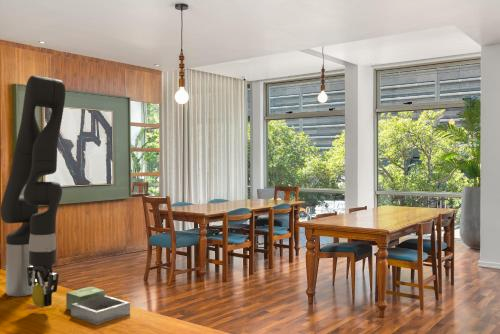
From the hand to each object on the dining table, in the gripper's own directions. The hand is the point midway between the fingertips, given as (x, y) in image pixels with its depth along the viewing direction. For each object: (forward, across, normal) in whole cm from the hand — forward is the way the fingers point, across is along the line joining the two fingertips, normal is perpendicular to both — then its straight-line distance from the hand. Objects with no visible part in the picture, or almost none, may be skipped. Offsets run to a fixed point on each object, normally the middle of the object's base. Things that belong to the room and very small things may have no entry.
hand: (42, 303), depth 154 cm
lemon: (+2, 0, 0) cm, 2 cm away
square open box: (+2, +11, +10) cm, 15 cm away
